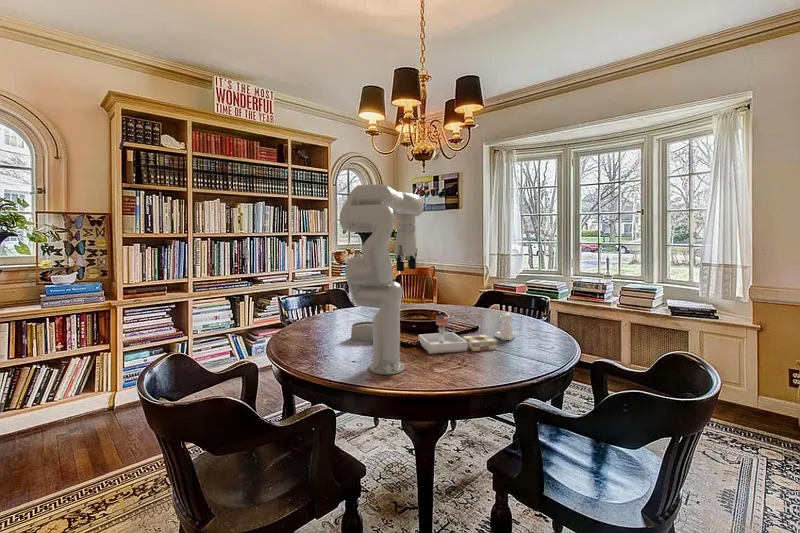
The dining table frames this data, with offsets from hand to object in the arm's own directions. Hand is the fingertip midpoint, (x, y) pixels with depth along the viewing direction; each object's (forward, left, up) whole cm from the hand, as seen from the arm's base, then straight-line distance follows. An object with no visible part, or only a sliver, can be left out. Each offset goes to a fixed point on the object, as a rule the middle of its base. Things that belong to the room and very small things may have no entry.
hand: (406, 270), depth 167 cm
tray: (-6, -14, -32) cm, 36 cm away
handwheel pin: (-6, -14, -32) cm, 35 cm away
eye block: (-10, -29, -32) cm, 44 cm away
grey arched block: (+12, +14, -33) cm, 38 cm away
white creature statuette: (-2, -46, -32) cm, 56 cm away
